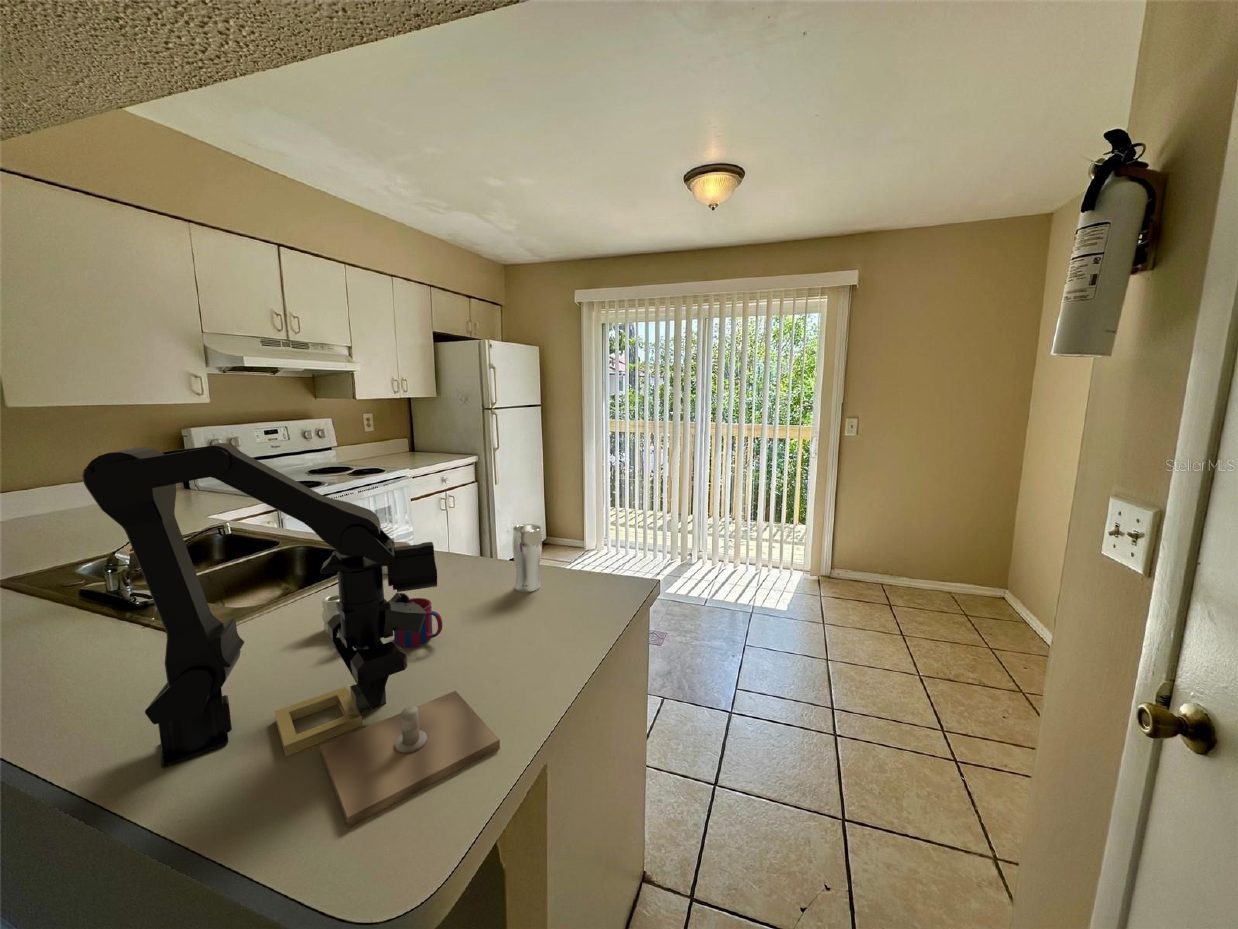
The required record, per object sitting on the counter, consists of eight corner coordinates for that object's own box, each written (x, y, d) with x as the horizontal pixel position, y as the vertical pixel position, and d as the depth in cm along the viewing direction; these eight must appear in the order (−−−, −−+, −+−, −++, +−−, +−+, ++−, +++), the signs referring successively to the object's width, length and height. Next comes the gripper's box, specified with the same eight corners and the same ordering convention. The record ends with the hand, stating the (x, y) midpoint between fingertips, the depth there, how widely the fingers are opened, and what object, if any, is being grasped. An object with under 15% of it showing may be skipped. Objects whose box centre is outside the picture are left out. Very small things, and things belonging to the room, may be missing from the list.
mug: (416, 627, 96) (414, 595, 95) (452, 639, 91) (451, 606, 90) (386, 642, 90) (384, 608, 89) (423, 656, 85) (422, 620, 84)
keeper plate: (348, 827, 52) (344, 780, 51) (321, 754, 62) (317, 714, 61) (499, 747, 63) (499, 708, 63) (455, 697, 74) (454, 663, 73)
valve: (312, 633, 93) (343, 652, 86) (310, 601, 92) (341, 618, 85) (347, 620, 98) (379, 638, 92) (345, 590, 97) (377, 605, 91)
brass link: (285, 756, 61) (283, 735, 61) (275, 721, 68) (273, 701, 68) (392, 713, 70) (391, 694, 70) (374, 685, 77) (373, 667, 76)
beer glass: (507, 591, 114) (506, 530, 112) (521, 580, 121) (521, 522, 119) (534, 594, 112) (533, 532, 110) (547, 584, 119) (546, 525, 117)
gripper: (442, 602, 68) (445, 702, 70) (398, 566, 82) (403, 651, 84) (355, 626, 61) (362, 737, 63) (323, 582, 74) (330, 675, 77)
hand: (368, 694), depth 72 cm, fingers open, 7 cm apart
